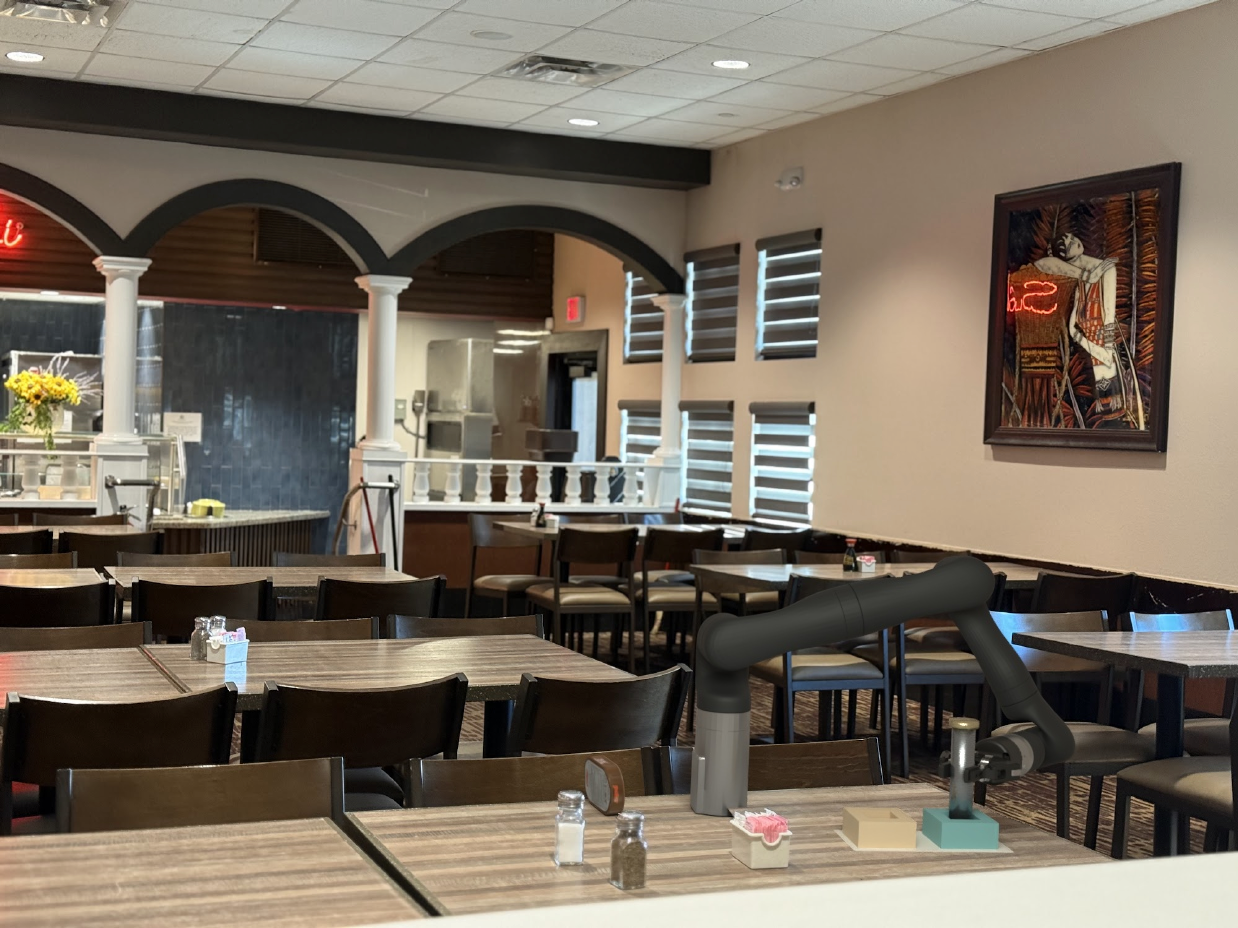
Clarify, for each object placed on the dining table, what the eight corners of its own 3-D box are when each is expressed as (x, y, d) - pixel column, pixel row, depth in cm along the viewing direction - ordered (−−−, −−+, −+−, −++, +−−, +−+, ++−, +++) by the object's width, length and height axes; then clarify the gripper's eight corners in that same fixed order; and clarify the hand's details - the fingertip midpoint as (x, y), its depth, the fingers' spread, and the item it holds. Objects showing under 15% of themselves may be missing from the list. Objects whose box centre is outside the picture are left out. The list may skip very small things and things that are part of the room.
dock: (853, 860, 217) (855, 823, 217) (833, 839, 229) (834, 804, 229) (1013, 861, 220) (1015, 825, 220) (985, 840, 232) (986, 806, 232)
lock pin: (950, 838, 223) (954, 722, 223) (940, 831, 228) (944, 717, 228) (979, 839, 224) (983, 723, 223) (968, 831, 228) (973, 717, 228)
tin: (625, 819, 237) (627, 768, 237) (607, 820, 236) (609, 768, 236) (597, 798, 251) (599, 749, 251) (580, 798, 250) (582, 750, 250)
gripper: (962, 729, 241) (913, 742, 228) (1044, 742, 232) (997, 757, 219) (961, 774, 241) (911, 789, 228) (1042, 788, 232) (995, 806, 219)
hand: (954, 773), depth 223 cm, fingers closed on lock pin, 3 cm apart
